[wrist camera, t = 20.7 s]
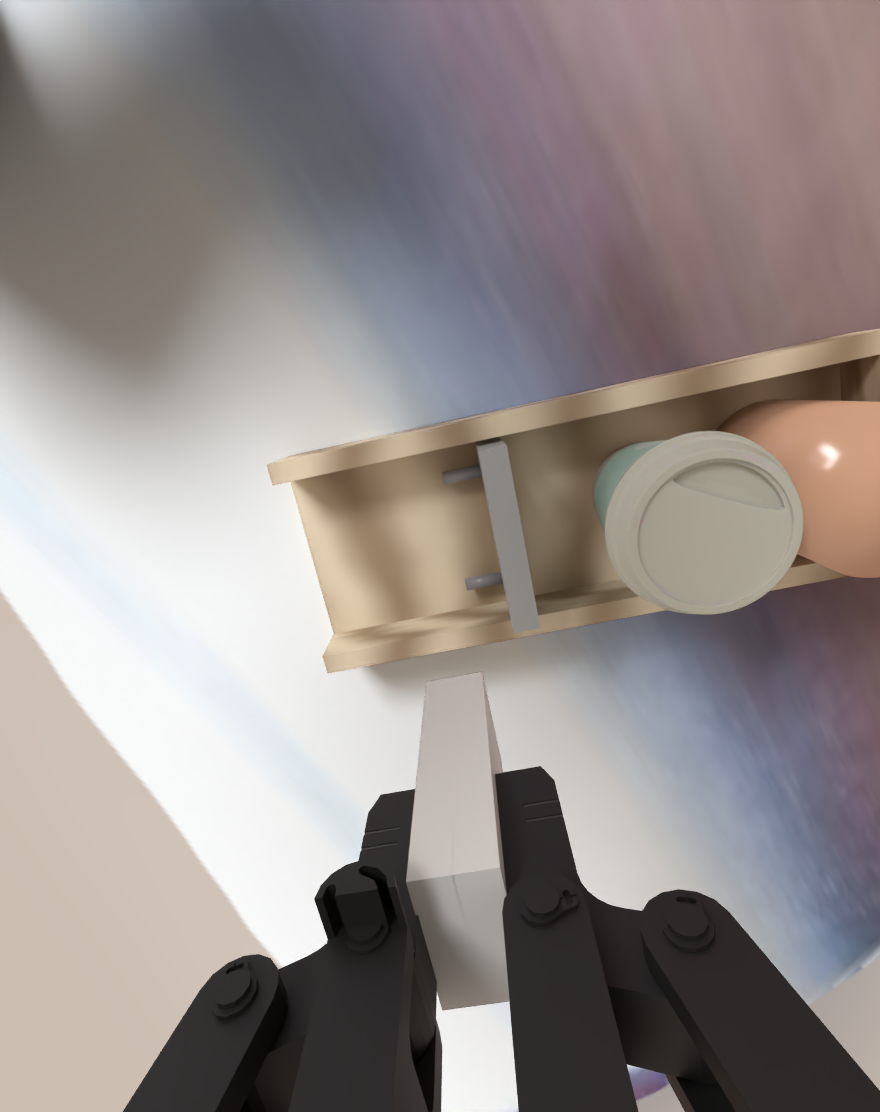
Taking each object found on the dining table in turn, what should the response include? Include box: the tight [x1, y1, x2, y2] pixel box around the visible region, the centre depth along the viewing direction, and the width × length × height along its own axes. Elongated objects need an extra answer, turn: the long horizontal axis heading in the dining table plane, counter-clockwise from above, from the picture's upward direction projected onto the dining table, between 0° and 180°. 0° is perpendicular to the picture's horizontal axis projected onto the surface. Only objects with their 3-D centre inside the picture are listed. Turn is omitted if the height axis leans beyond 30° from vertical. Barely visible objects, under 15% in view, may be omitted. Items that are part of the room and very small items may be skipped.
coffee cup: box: [592, 431, 804, 615], centre depth 31 cm, size 8×8×12 cm
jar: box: [716, 399, 880, 578], centre depth 32 cm, size 8×8×10 cm
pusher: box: [442, 437, 540, 633], centre depth 35 cm, size 4×10×6 cm, turn 12°
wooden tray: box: [267, 329, 880, 673], centre depth 36 cm, size 35×13×6 cm, turn 102°
